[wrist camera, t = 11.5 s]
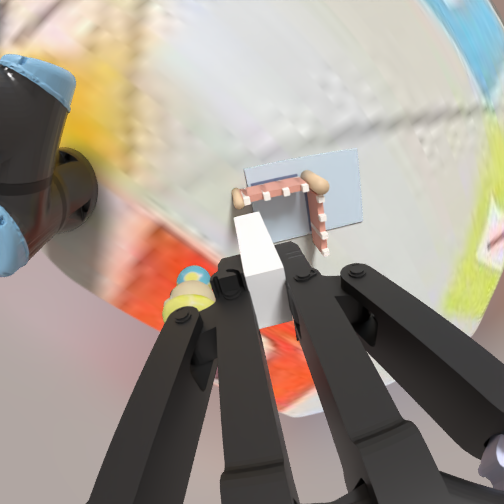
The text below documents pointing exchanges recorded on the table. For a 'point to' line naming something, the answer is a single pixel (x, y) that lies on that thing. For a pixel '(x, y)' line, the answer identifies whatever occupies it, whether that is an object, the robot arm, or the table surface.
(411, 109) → the table surface
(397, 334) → the robot arm
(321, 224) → the fence wing
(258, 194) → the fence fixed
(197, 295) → the toy
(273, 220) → the card
